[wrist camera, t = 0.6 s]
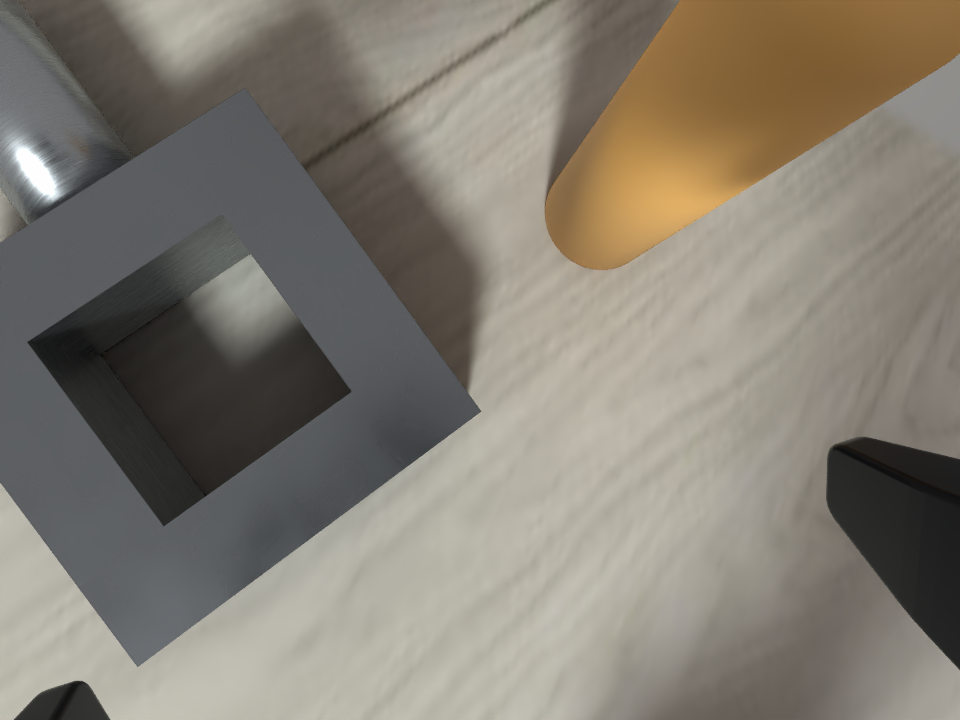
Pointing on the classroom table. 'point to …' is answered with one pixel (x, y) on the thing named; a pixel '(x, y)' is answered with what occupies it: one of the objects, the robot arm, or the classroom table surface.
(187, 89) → the classroom table surface
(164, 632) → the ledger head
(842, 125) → the orange cylinder
